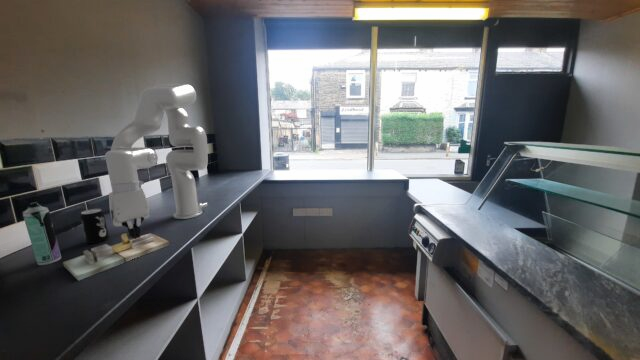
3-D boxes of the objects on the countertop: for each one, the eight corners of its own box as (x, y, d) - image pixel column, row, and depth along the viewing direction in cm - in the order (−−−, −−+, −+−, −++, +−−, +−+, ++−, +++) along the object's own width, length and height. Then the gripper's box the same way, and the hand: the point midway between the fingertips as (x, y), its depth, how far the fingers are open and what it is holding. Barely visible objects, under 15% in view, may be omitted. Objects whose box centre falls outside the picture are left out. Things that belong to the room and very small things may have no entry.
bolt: (130, 244, 89) (128, 232, 87) (133, 246, 87) (131, 233, 86) (94, 257, 80) (91, 243, 79) (97, 259, 79) (93, 245, 78)
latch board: (151, 236, 99) (149, 225, 98) (169, 245, 92) (167, 233, 91) (64, 266, 79) (60, 253, 78) (78, 280, 71) (74, 266, 70)
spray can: (65, 257, 84) (50, 200, 80) (43, 266, 79) (26, 206, 75) (55, 255, 86) (40, 199, 81) (33, 263, 81) (15, 204, 76)
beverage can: (96, 245, 93) (88, 214, 90) (82, 243, 94) (74, 213, 91) (113, 237, 99) (107, 208, 96) (100, 236, 100) (93, 207, 98)
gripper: (145, 181, 93) (153, 227, 97) (93, 190, 80) (105, 243, 84) (155, 183, 89) (163, 232, 93) (102, 193, 76) (114, 248, 80)
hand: (135, 237), depth 88 cm, fingers closed
